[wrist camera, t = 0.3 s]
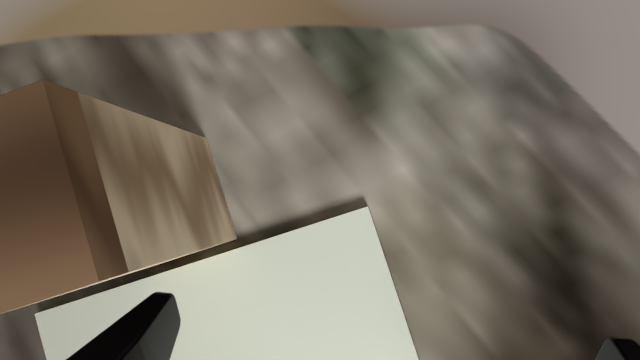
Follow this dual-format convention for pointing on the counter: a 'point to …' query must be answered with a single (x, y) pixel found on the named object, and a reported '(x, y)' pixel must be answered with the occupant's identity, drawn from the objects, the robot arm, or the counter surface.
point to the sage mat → (264, 301)
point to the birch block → (96, 193)
